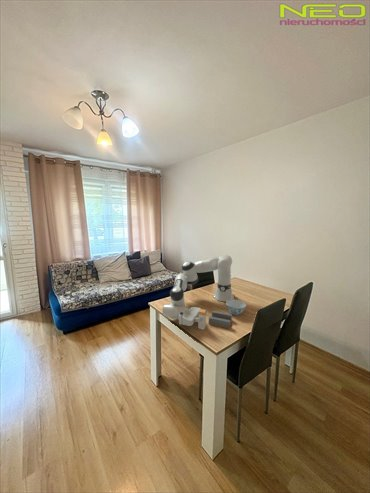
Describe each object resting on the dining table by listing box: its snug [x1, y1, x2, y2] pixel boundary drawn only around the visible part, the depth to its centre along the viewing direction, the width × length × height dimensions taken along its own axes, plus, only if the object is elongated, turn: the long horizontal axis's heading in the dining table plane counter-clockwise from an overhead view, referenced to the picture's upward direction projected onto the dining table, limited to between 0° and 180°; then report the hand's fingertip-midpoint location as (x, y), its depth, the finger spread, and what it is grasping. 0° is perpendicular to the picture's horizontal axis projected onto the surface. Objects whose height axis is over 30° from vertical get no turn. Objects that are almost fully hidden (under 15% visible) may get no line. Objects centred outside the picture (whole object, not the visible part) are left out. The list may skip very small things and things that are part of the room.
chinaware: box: [225, 299, 247, 316], centre depth 155 cm, size 15×15×8 cm
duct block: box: [208, 310, 233, 329], centre depth 141 cm, size 12×14×4 cm
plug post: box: [197, 308, 207, 331], centre depth 133 cm, size 4×4×12 cm
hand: (203, 318), depth 133 cm, fingers closed on plug post, 4 cm apart
